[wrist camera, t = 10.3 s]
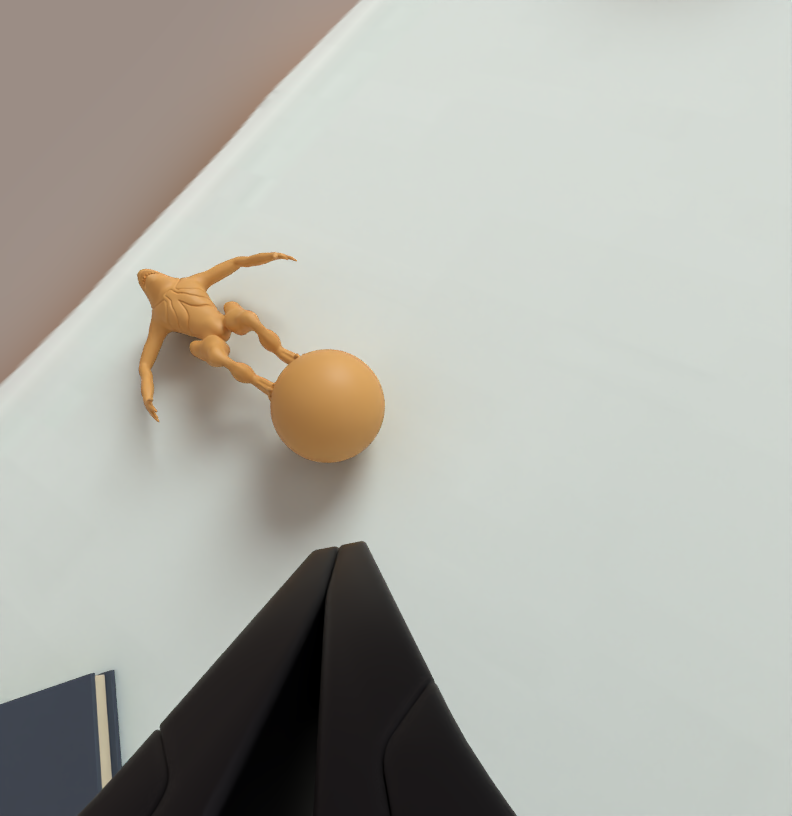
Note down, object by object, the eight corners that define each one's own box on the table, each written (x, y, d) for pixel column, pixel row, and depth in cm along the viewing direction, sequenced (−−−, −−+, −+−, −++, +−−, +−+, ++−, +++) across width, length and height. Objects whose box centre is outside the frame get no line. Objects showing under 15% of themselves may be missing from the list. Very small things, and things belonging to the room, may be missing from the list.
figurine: (287, 540, 15) (-3, 313, 17) (315, 534, 21) (99, 367, 23) (448, 328, 17) (170, 135, 18) (433, 378, 23) (223, 229, 24)
